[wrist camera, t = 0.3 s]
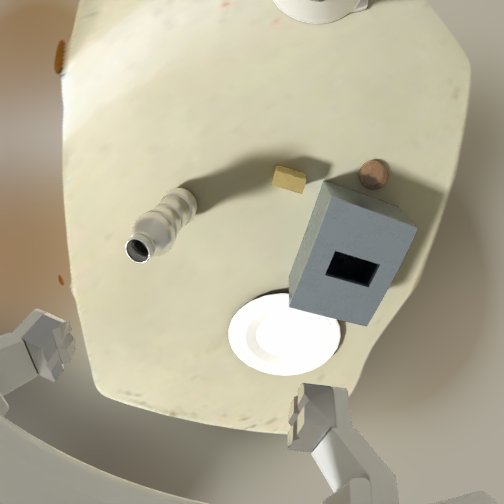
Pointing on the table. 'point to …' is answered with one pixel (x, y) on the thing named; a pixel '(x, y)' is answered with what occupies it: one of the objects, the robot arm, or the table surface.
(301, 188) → the brushed brass bar
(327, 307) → the coin box
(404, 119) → the table surface
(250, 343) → the plate
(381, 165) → the copper token
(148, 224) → the plastic bottle
